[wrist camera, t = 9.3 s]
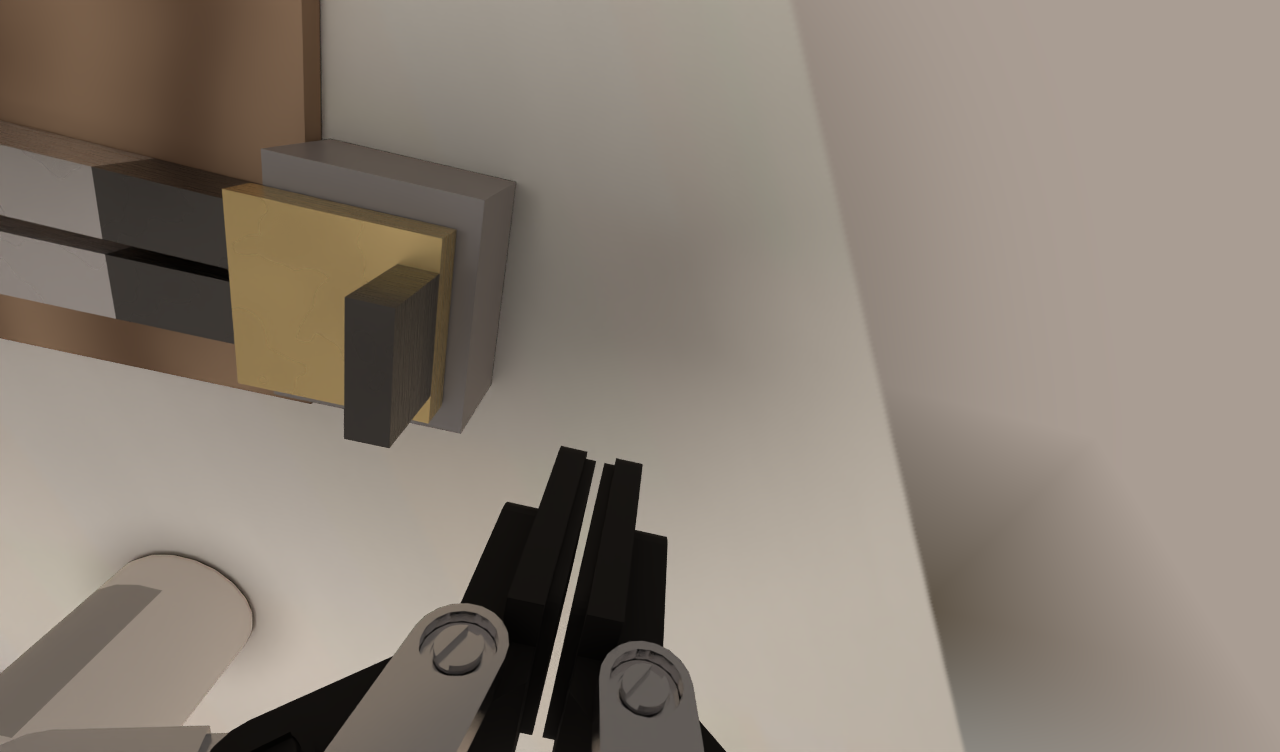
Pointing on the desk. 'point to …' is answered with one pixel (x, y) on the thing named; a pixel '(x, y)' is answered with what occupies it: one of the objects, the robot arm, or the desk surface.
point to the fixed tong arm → (114, 280)
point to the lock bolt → (340, 306)
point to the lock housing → (429, 198)
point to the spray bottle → (129, 652)
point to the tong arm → (113, 194)
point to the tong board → (158, 124)
